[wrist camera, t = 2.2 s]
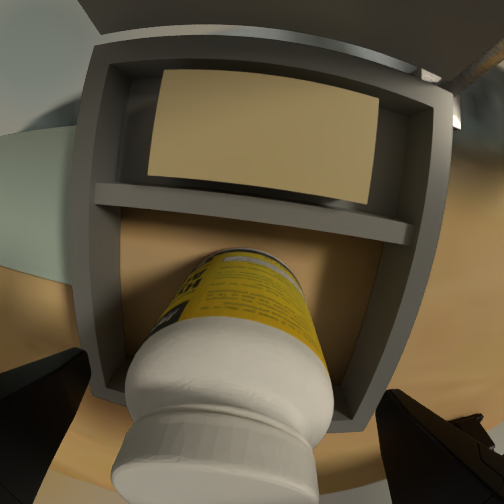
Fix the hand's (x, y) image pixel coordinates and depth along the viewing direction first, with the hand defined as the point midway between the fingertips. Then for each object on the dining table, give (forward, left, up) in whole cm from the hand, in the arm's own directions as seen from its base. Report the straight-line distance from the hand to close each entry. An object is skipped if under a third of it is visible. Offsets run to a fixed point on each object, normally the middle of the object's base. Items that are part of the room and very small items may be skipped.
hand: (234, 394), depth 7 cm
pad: (+4, +12, -6) cm, 14 cm away
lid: (+13, 0, +4) cm, 13 cm away
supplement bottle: (0, 0, -6) cm, 6 cm away
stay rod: (+12, -8, -6) cm, 16 cm away
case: (+3, 0, -6) cm, 7 cm away
